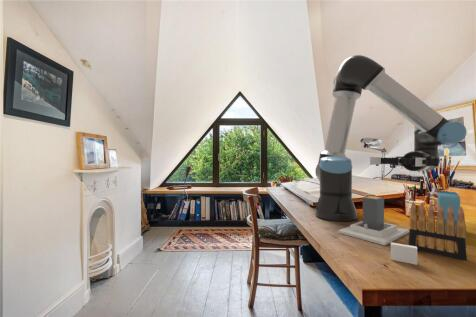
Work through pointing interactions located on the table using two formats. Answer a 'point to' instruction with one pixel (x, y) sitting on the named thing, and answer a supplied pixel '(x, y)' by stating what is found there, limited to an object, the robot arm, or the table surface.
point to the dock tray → (374, 233)
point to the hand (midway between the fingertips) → (392, 161)
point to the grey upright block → (373, 212)
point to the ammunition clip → (438, 232)
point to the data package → (449, 204)
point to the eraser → (404, 253)
